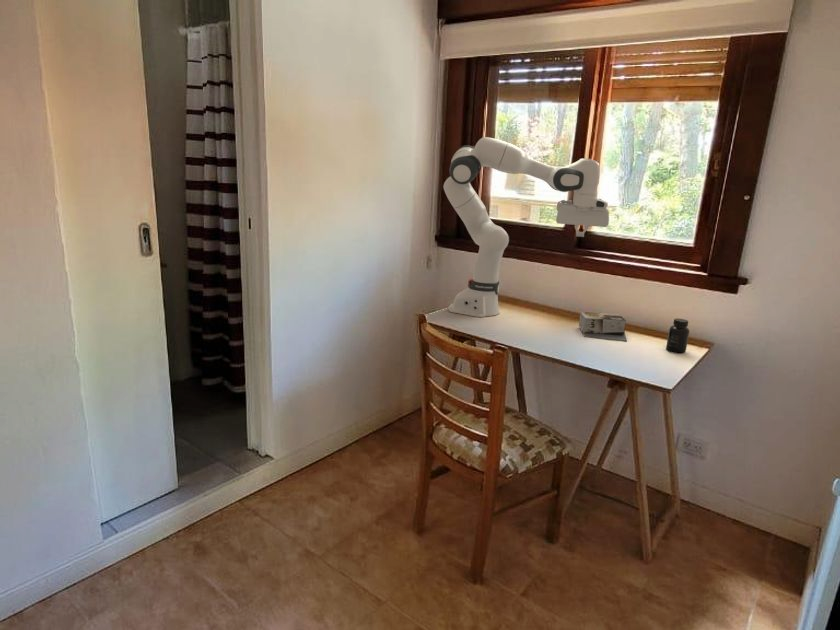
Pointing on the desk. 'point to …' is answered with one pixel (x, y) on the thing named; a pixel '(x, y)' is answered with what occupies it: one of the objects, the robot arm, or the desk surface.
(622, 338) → the mat
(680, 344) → the supplement bottle
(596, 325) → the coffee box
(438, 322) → the desk surface
